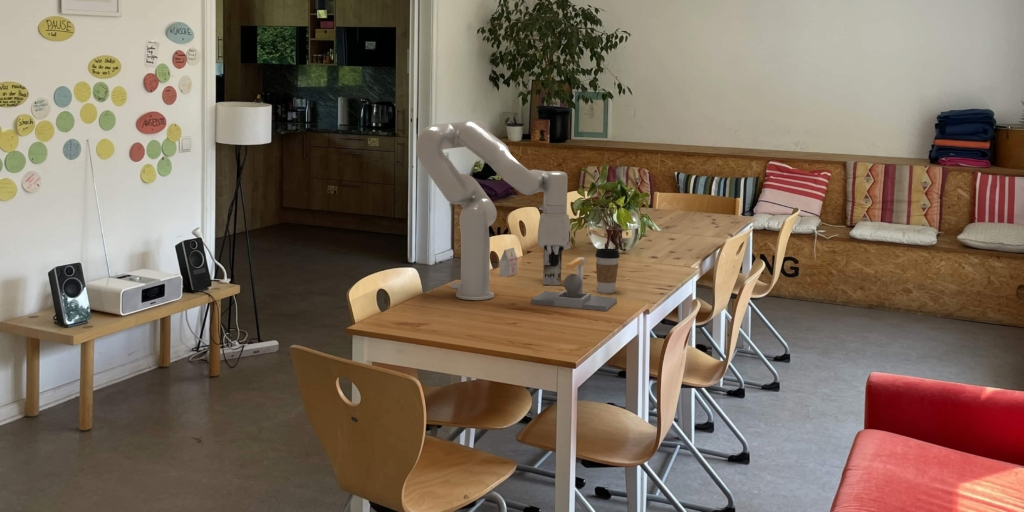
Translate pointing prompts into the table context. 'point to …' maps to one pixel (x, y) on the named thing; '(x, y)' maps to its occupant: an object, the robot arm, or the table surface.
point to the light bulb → (572, 285)
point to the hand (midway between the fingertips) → (553, 265)
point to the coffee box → (551, 270)
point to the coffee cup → (606, 269)
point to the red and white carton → (508, 263)
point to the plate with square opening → (580, 302)
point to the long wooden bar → (575, 263)
